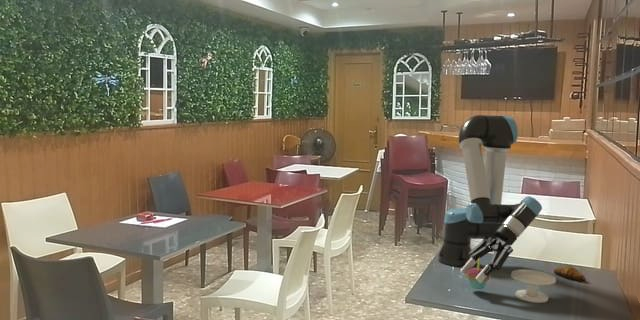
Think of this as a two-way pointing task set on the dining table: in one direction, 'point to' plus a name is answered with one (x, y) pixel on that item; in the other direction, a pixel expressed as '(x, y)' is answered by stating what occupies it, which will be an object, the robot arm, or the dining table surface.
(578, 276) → the croissant
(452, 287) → the dining table surface
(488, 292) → the dining table surface
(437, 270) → the dining table surface
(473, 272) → the cupcake
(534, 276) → the cake stand
